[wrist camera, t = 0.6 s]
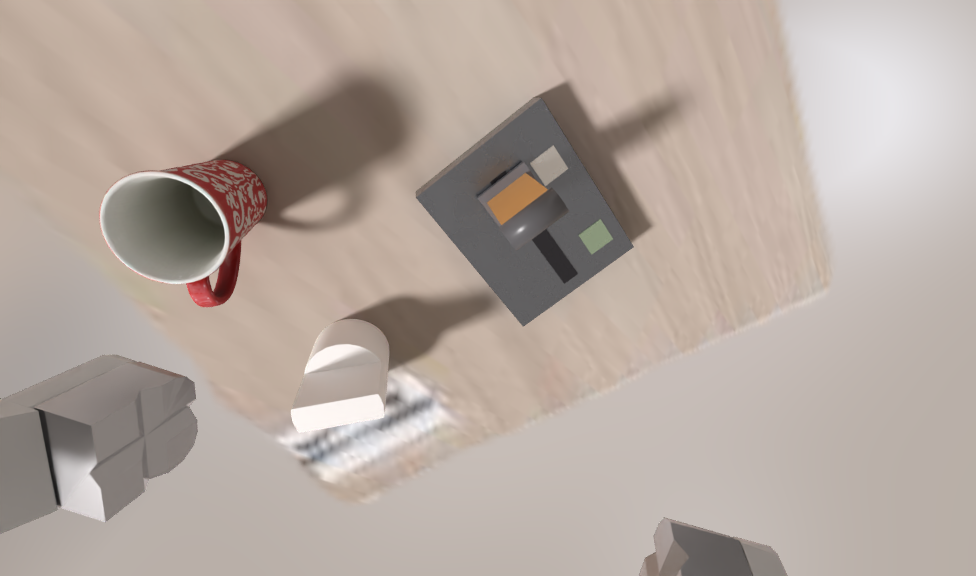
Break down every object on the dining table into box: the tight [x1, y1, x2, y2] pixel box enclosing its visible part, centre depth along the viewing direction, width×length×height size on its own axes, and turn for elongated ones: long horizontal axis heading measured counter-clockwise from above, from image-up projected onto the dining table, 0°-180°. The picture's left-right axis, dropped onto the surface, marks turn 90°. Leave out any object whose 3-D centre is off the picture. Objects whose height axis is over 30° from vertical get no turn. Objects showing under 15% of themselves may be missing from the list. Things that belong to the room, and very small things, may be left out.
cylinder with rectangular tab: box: [291, 319, 390, 433], centre depth 51 cm, size 9×9×12 cm
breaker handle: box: [477, 162, 569, 251], centre depth 43 cm, size 4×6×11 cm
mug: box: [99, 160, 267, 307], centre depth 42 cm, size 13×9×14 cm
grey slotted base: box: [416, 97, 634, 326], centre depth 52 cm, size 20×16×3 cm
